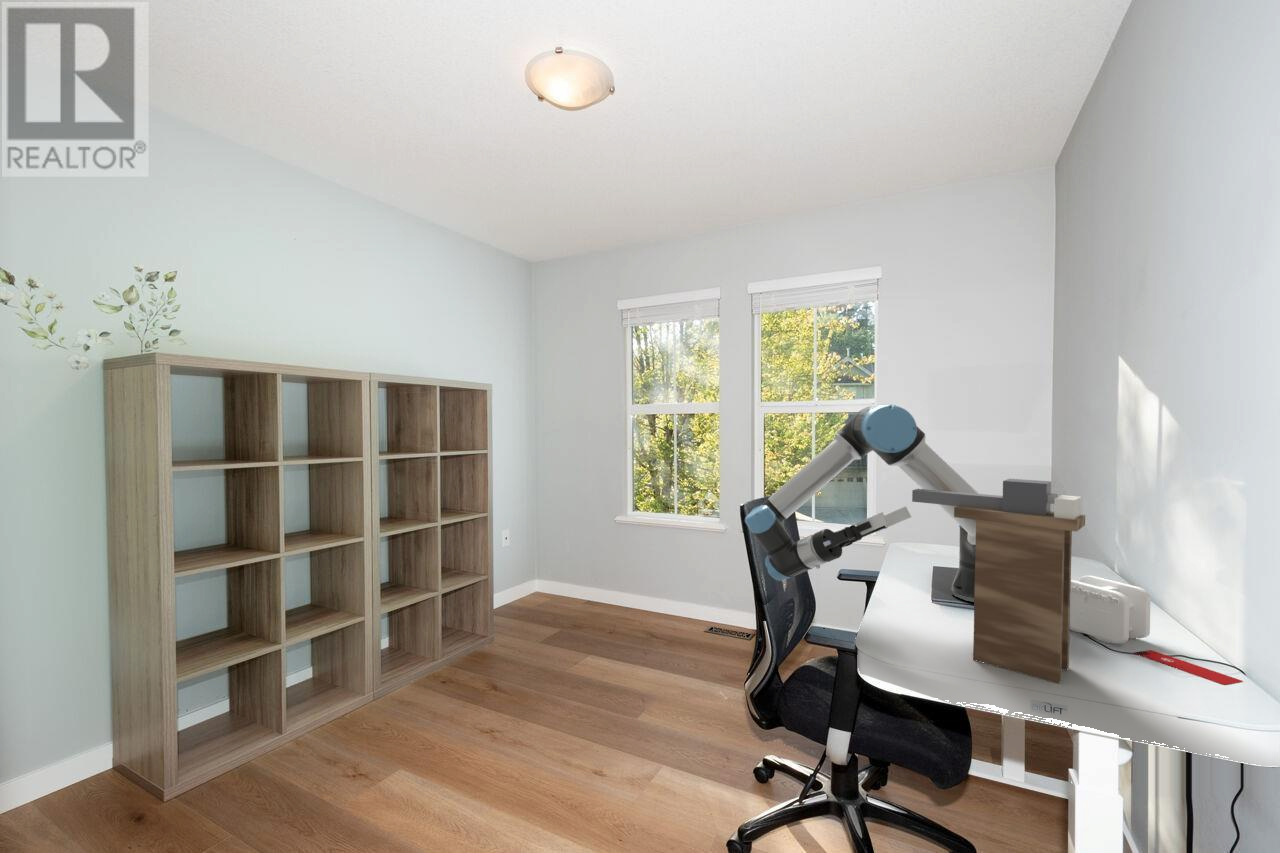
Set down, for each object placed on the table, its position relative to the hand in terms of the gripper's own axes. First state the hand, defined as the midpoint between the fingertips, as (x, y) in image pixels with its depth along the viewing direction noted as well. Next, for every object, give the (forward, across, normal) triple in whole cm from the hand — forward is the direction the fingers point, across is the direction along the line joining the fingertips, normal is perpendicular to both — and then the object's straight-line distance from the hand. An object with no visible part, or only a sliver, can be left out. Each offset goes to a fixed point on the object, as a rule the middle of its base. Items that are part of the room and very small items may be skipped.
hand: (897, 514), depth 129 cm
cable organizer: (+15, -33, -40) cm, 54 cm away
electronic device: (+27, -23, -47) cm, 59 cm away
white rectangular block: (+29, 0, -12) cm, 31 cm away
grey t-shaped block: (+16, 0, -5) cm, 17 cm away
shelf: (+7, 0, -34) cm, 35 cm away
